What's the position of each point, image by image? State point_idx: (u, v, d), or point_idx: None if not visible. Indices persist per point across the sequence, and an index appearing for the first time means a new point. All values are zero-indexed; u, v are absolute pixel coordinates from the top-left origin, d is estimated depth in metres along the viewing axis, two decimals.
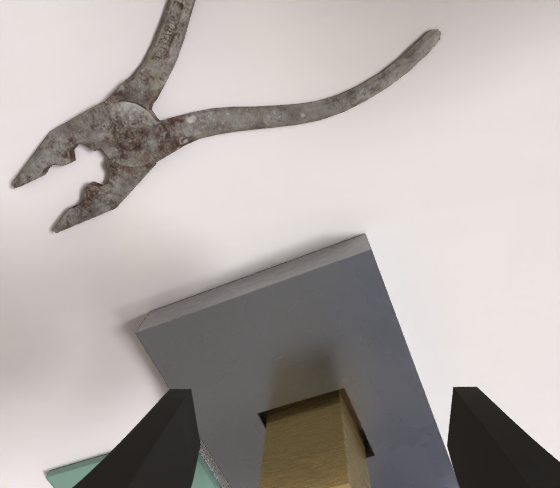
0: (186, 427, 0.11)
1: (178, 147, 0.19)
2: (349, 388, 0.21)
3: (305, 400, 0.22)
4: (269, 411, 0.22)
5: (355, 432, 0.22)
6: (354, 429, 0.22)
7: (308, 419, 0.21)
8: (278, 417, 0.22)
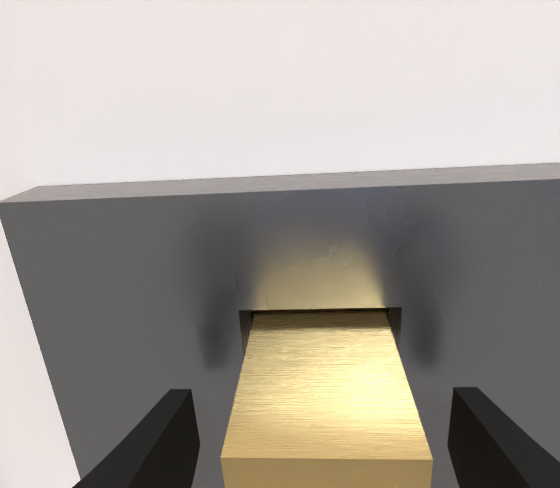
0: (186, 427, 0.11)
1: None
2: (242, 303, 0.13)
3: None
4: None
5: (332, 323, 0.12)
6: (326, 322, 0.12)
7: None
8: None
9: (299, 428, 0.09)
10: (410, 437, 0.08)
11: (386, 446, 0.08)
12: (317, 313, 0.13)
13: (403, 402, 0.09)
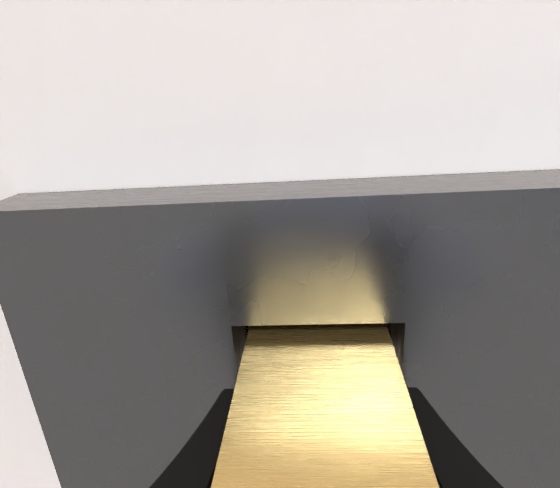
0: None
1: None
2: (235, 319, 0.12)
3: None
4: None
5: (331, 340, 0.12)
6: (325, 339, 0.12)
7: None
8: None
9: (296, 464, 0.08)
10: (418, 475, 0.08)
11: (391, 485, 0.07)
12: (315, 329, 0.12)
13: (409, 432, 0.08)
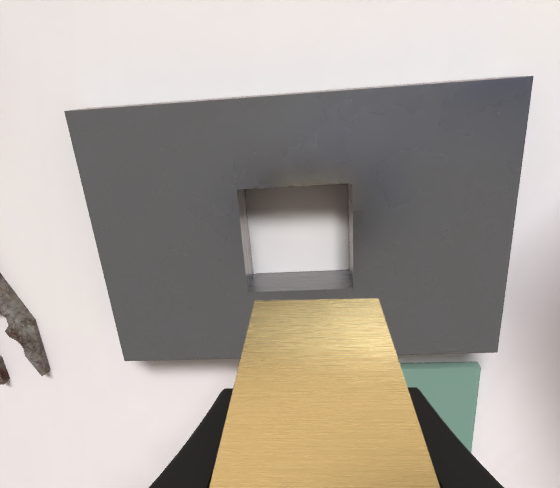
0: None
1: None
2: (239, 184, 0.18)
3: None
4: None
5: (330, 337, 0.12)
6: (325, 336, 0.12)
7: None
8: None
9: (294, 460, 0.08)
10: (417, 471, 0.08)
11: (390, 482, 0.07)
12: (315, 326, 0.12)
13: (409, 429, 0.08)
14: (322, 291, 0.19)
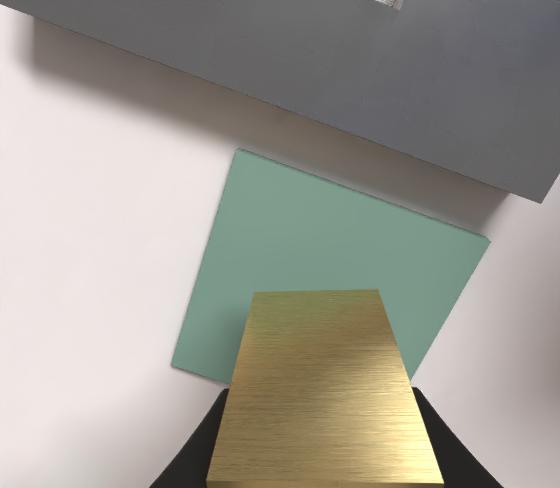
0: None
1: None
2: None
3: None
4: None
5: (330, 327, 0.12)
6: (324, 326, 0.12)
7: None
8: None
9: (294, 446, 0.08)
10: (418, 456, 0.07)
11: (390, 467, 0.07)
12: (314, 316, 0.12)
13: (409, 415, 0.08)
14: None
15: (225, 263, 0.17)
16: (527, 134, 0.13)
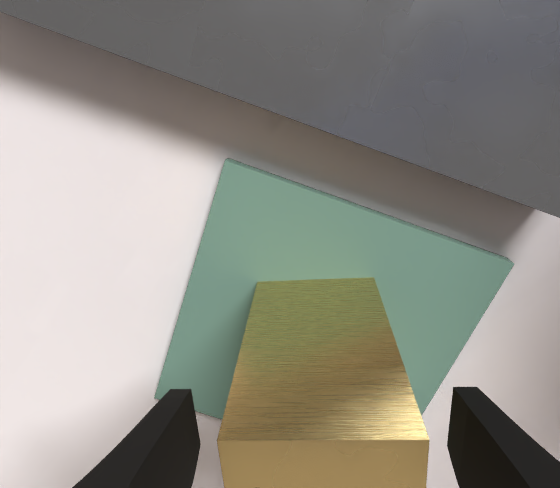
0: (186, 427, 0.11)
1: None
2: None
3: None
4: None
5: (328, 311, 0.12)
6: (323, 310, 0.12)
7: None
8: None
9: (295, 412, 0.09)
10: (406, 418, 0.08)
11: (382, 427, 0.08)
12: (314, 302, 0.13)
13: (400, 385, 0.09)
14: None
15: (213, 287, 0.15)
16: None
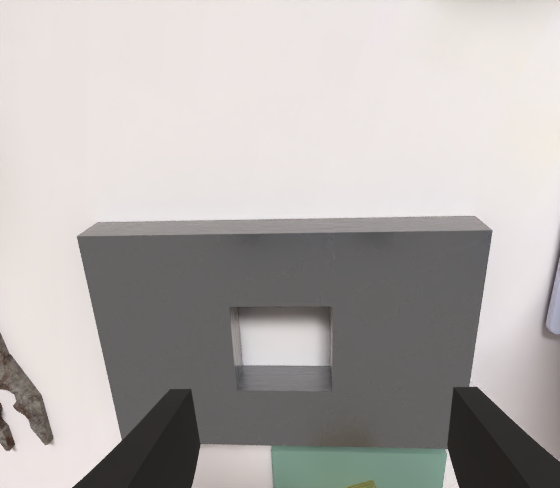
0: (186, 427, 0.11)
1: None
2: (231, 302, 0.20)
3: None
4: None
5: None
6: None
7: None
8: None
9: None
10: None
11: None
12: None
13: None
14: (304, 392, 0.21)
15: None
16: (432, 421, 0.21)
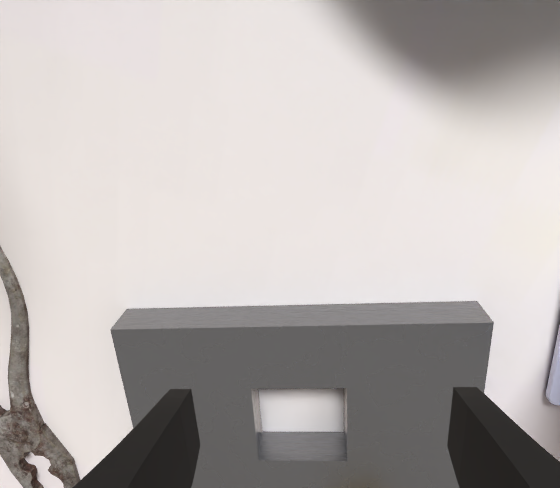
0: (186, 427, 0.11)
1: (29, 409, 0.25)
2: (253, 385, 0.21)
3: None
4: None
5: None
6: None
7: None
8: None
9: None
10: None
11: None
12: None
13: None
14: (321, 462, 0.23)
15: None
16: (441, 486, 0.23)
